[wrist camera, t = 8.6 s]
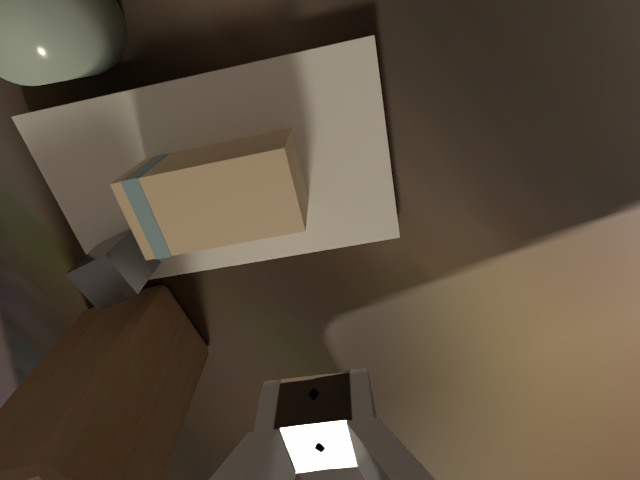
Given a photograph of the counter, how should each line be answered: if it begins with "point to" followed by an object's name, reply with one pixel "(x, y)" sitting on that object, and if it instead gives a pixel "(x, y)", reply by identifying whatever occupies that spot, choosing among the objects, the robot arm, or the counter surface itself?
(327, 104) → the white tray
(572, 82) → the counter surface
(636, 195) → the counter surface
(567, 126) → the counter surface
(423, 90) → the counter surface
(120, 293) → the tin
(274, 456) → the robot arm
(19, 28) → the sage green capsule
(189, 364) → the wooden block
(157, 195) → the carton
